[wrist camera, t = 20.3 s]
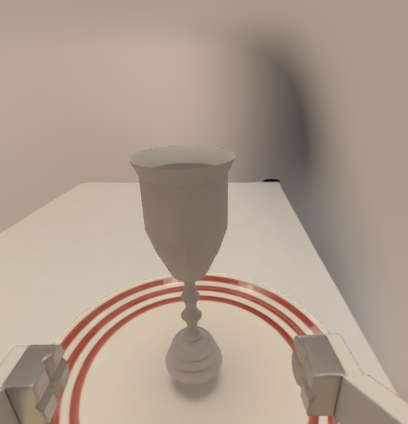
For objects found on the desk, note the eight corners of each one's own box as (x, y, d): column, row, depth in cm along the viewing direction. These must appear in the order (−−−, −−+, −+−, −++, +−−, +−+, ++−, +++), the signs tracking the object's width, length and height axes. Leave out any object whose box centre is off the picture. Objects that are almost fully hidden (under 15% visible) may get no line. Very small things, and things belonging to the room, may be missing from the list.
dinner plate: (305, 290, 39) (308, 270, 37) (463, 664, 13) (489, 640, 12) (106, 288, 40) (102, 268, 39) (-85, 615, 15) (-113, 589, 14)
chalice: (246, 381, 23) (256, 161, 16) (163, 410, 21) (134, 175, 14) (215, 319, 30) (212, 142, 23) (149, 337, 28) (124, 150, 21)
